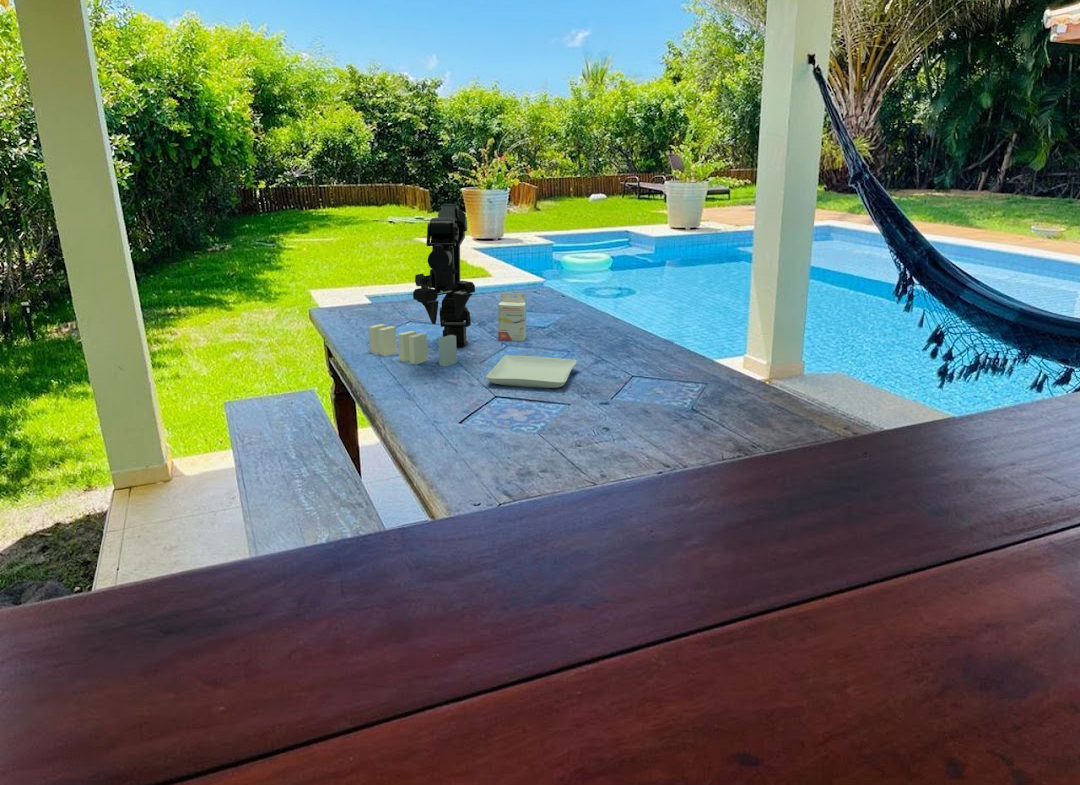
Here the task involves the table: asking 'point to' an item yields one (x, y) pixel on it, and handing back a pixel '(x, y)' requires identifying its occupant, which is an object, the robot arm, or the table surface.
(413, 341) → the domino
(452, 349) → the domino
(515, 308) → the ink cartridge box
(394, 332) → the domino
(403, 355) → the domino
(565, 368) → the salad plate
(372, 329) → the domino
